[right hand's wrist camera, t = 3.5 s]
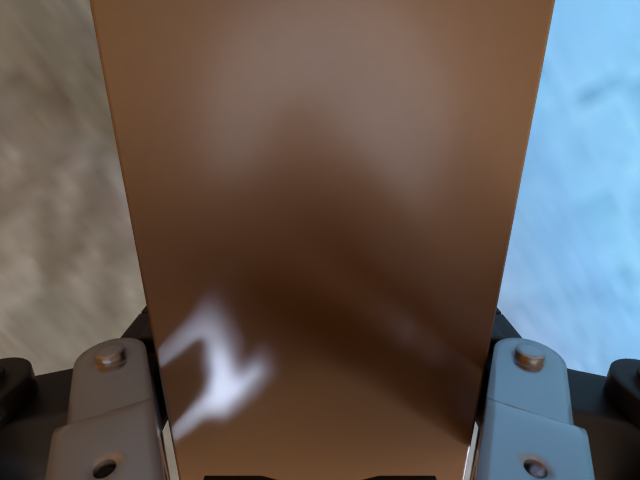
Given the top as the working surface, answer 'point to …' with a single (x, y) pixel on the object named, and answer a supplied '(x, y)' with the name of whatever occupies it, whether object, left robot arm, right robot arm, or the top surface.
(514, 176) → the box
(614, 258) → the top surface
